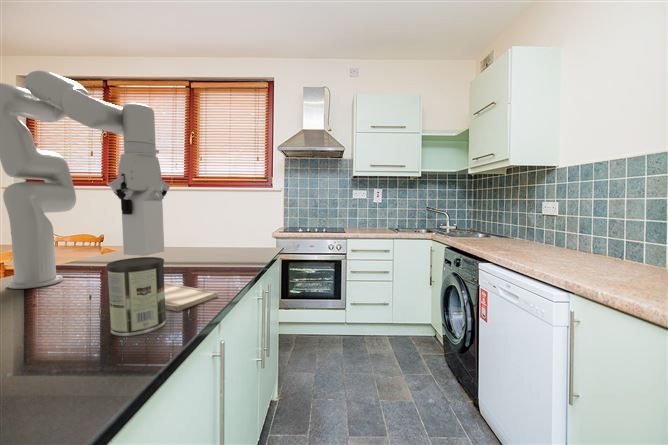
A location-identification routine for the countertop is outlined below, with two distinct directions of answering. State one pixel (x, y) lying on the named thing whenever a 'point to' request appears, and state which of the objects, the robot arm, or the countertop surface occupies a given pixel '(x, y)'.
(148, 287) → the coffee can
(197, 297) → the beech board
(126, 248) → the milk carton
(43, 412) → the countertop surface
